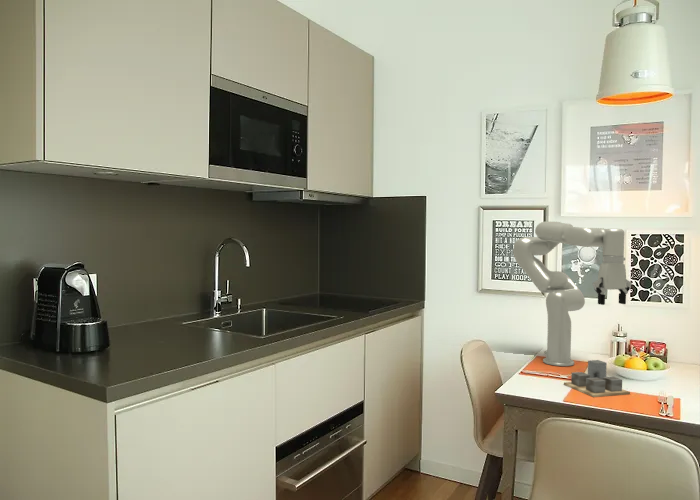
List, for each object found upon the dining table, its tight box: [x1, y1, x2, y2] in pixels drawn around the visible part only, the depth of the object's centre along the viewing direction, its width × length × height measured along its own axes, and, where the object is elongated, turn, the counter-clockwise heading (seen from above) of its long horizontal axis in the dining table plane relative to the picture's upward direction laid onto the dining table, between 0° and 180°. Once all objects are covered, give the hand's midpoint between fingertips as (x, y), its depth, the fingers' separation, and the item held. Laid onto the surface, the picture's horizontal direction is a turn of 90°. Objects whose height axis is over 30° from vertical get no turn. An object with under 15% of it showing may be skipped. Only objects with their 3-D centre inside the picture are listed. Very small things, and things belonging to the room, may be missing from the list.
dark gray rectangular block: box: [587, 359, 608, 380], centre depth 208 cm, size 4×4×8 cm
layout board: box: [563, 371, 631, 398], centre depth 203 cm, size 16×15×5 cm
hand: (611, 304), depth 221 cm, fingers open, 9 cm apart
